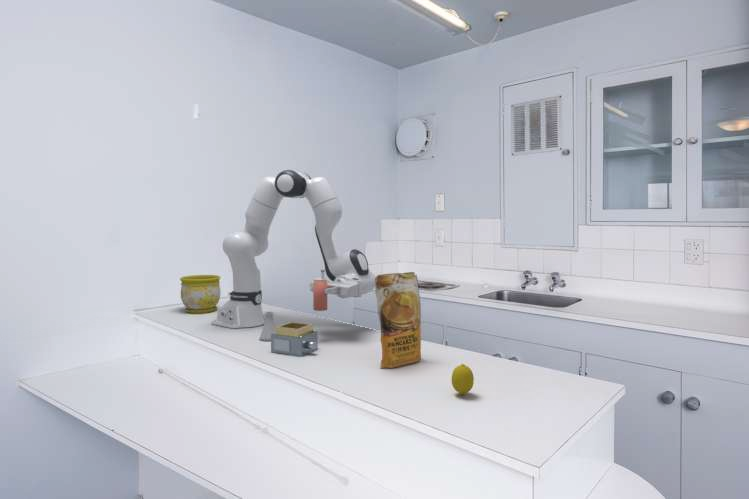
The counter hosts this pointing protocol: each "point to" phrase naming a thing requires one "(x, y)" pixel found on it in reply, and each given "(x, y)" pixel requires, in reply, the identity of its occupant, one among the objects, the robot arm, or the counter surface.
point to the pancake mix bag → (399, 318)
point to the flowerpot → (200, 293)
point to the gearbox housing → (294, 339)
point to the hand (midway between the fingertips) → (318, 290)
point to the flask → (268, 327)
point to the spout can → (319, 293)
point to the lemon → (462, 379)
